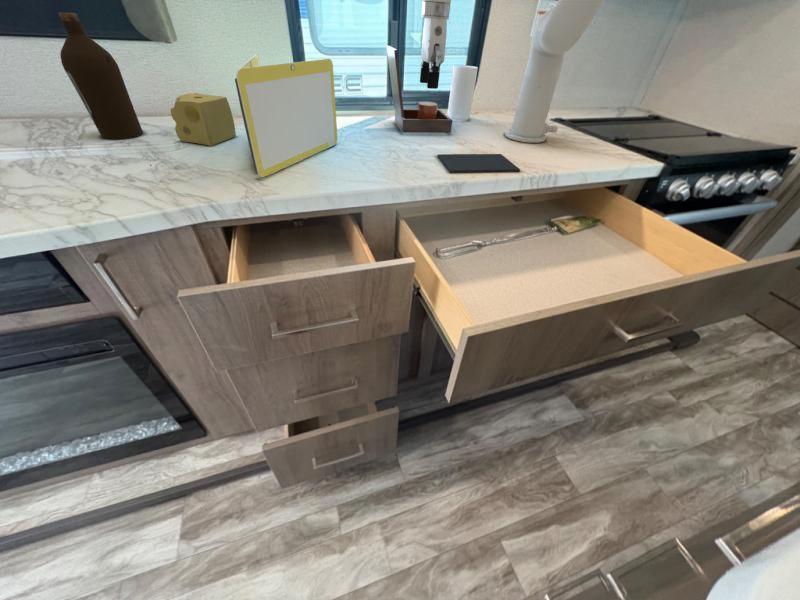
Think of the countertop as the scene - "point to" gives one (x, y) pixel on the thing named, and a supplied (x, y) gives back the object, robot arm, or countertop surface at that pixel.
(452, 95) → the white cylinder
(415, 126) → the brown wooden box
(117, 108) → the olive oil
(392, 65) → the lid
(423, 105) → the orange cup
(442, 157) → the mat
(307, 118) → the tablet
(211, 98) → the cheese
